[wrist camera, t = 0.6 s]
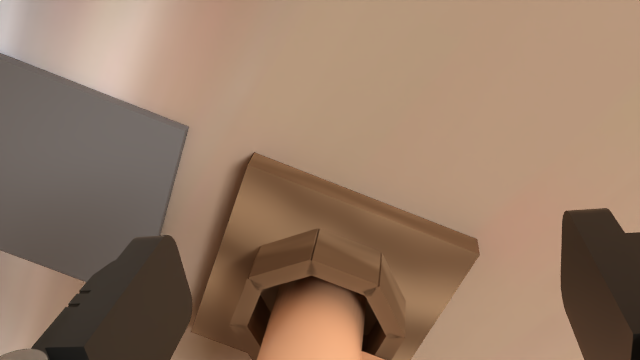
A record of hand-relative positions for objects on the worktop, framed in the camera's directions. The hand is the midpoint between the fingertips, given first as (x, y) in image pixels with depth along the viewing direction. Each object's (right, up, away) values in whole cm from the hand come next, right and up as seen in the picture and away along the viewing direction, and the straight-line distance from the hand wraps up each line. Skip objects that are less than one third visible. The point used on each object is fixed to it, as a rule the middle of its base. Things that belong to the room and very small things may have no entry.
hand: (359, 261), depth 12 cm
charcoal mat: (-16, +1, +24) cm, 29 cm away
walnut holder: (0, -5, +25) cm, 26 cm away
